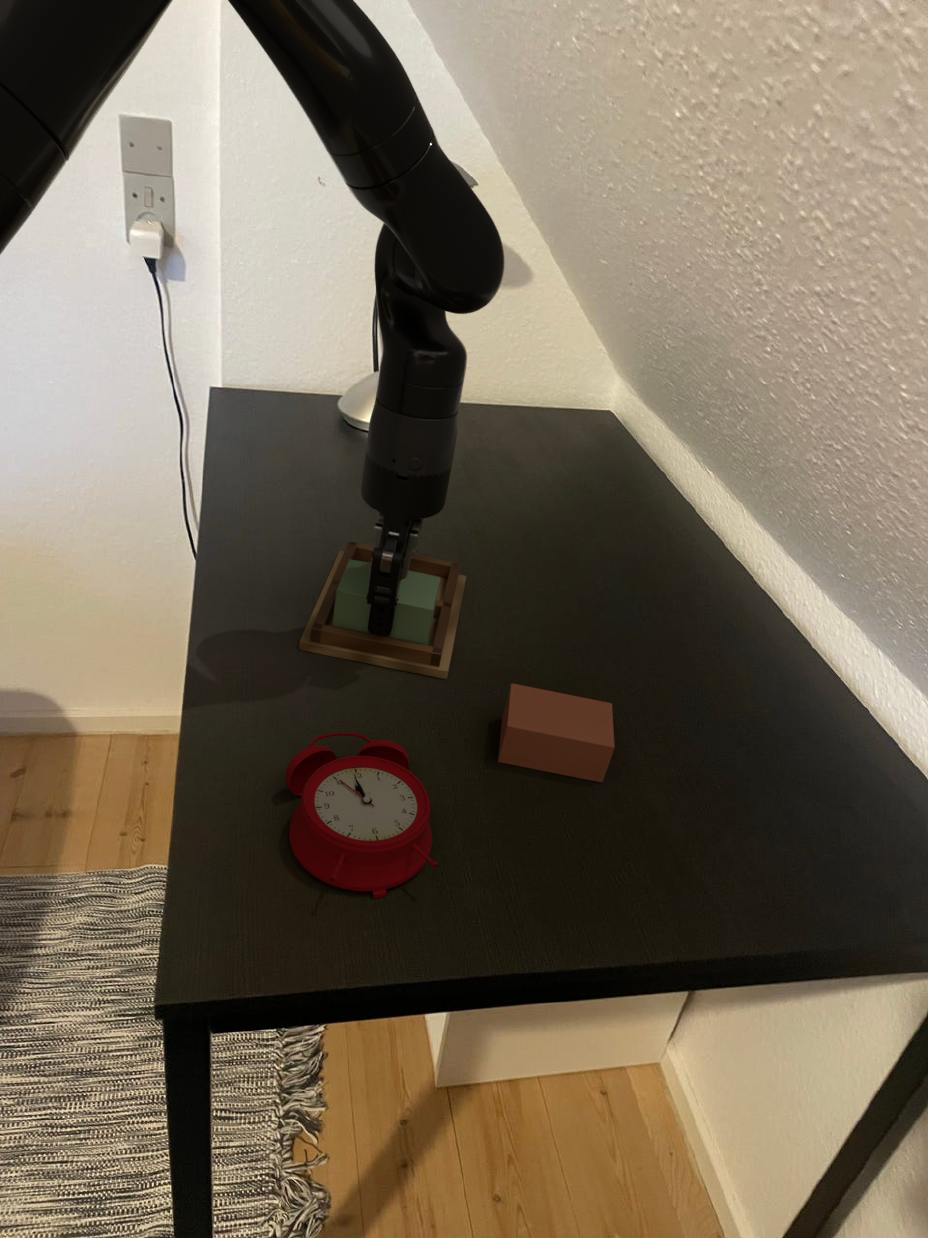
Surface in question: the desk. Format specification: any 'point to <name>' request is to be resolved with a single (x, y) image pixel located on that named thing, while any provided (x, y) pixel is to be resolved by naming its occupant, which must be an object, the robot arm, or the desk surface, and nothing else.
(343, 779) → the alarm clock
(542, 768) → the pad terracotta
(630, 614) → the desk surface
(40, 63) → the robot arm
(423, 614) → the pad sage
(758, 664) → the desk surface
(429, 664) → the divided wooden tray
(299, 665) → the desk surface
